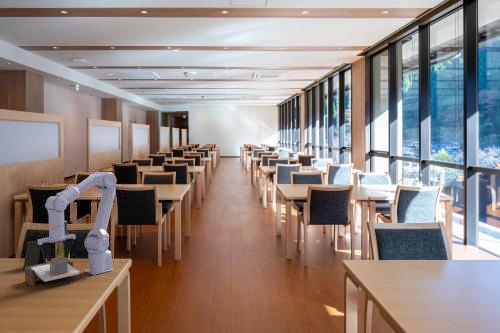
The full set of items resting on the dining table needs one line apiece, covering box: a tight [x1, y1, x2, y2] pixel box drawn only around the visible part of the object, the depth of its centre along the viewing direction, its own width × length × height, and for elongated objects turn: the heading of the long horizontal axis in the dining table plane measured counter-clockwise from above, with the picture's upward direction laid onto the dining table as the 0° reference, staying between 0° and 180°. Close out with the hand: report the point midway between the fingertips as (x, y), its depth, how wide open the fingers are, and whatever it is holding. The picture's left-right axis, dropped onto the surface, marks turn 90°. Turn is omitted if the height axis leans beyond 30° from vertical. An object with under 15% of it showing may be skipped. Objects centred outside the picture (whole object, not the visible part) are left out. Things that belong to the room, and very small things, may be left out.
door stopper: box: [23, 240, 47, 271], centre depth 210 cm, size 9×6×12 cm, turn 173°
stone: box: [50, 257, 68, 275], centre depth 185 cm, size 5×5×5 cm
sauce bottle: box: [54, 220, 71, 261], centre depth 217 cm, size 6×6×20 cm
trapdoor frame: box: [24, 260, 74, 286], centre depth 192 cm, size 17×8×6 cm, turn 136°
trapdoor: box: [31, 264, 80, 283], centre depth 188 cm, size 14×14×1 cm
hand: (57, 259), depth 186 cm, fingers open, 6 cm apart
